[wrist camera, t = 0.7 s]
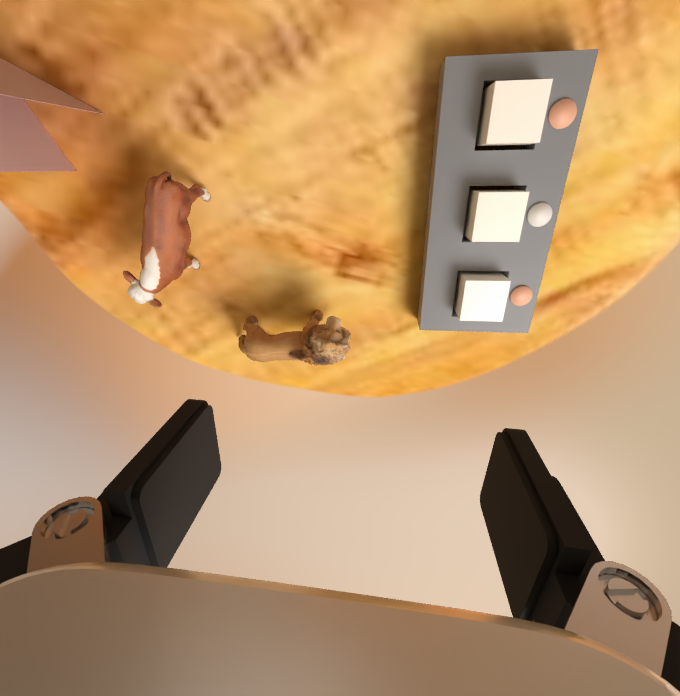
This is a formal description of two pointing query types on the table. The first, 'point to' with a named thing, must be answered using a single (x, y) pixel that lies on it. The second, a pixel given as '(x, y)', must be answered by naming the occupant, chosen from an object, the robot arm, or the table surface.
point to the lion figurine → (298, 342)
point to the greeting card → (29, 122)
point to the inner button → (513, 112)
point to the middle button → (495, 215)
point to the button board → (497, 182)
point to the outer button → (481, 295)
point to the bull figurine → (164, 237)
